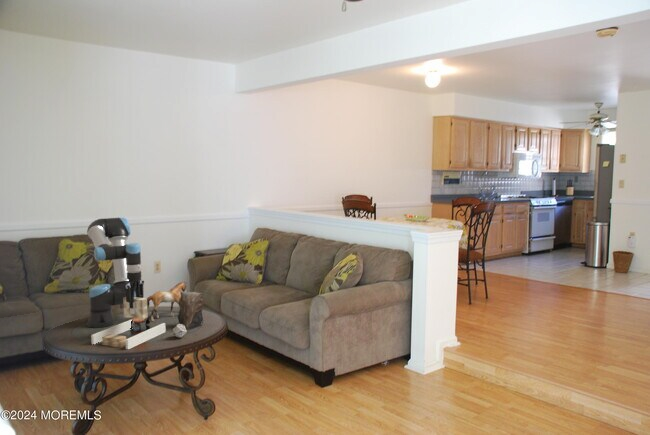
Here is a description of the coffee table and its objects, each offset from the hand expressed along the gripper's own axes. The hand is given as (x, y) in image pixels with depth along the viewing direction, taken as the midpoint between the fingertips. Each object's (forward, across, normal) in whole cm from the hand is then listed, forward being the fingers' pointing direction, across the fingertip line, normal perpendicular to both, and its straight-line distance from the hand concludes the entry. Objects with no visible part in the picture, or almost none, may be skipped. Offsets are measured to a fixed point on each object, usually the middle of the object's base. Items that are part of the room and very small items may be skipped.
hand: (135, 312), depth 301 cm
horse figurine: (+13, +35, +8) cm, 38 cm away
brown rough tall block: (+13, +23, -19) cm, 33 cm away
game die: (+13, +4, -26) cm, 30 cm away
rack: (+13, -6, 0) cm, 14 cm away
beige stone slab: (+3, 0, 0) cm, 3 cm away
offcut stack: (+13, -17, 0) cm, 21 cm away
